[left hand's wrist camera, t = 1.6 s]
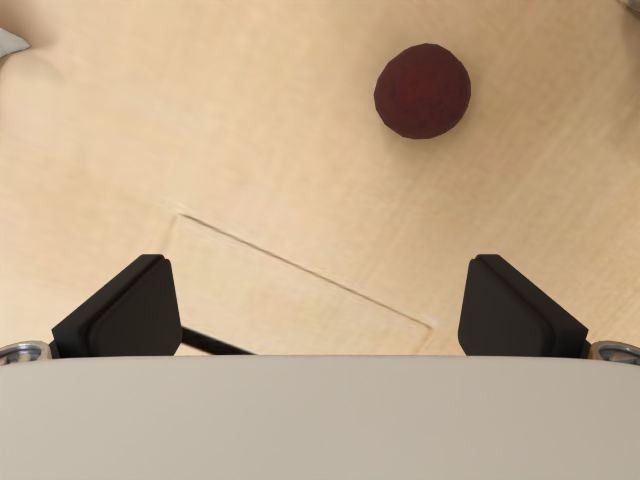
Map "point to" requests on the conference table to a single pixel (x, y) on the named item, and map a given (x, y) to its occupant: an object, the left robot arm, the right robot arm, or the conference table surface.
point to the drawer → (634, 5)
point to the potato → (422, 92)
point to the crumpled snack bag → (11, 43)
